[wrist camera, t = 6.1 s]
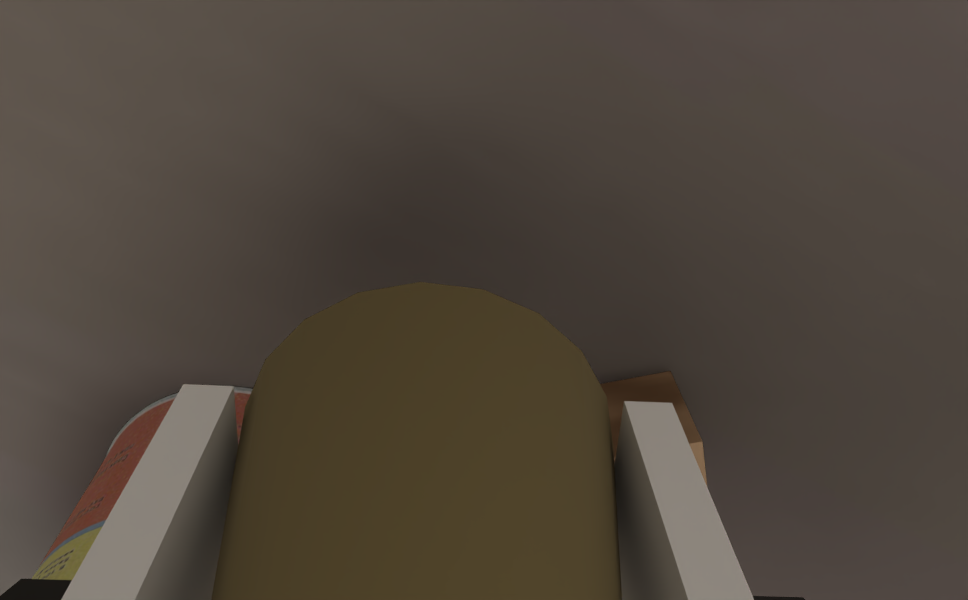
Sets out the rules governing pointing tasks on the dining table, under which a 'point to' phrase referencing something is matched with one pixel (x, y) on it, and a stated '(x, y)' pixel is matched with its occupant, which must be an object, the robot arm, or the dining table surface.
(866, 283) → the dining table surface
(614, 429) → the walnut cube
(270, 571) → the cork
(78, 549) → the canned food
